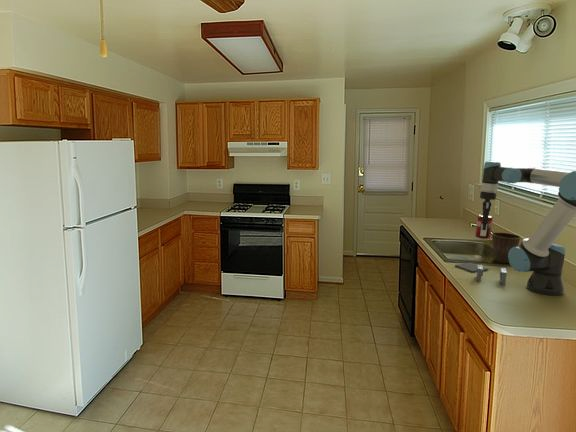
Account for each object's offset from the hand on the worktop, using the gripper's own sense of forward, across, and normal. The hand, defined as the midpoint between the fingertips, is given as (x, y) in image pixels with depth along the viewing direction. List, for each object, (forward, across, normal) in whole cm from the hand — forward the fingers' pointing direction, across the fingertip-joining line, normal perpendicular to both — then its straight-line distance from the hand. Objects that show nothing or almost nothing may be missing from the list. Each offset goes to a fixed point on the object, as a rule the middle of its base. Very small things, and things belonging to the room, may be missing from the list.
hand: (482, 234), depth 217 cm
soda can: (+2, 0, 0) cm, 2 cm away
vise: (+21, +11, +6) cm, 25 cm away
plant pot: (+22, -34, +14) cm, 43 cm away
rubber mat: (+22, -7, -3) cm, 23 cm away
